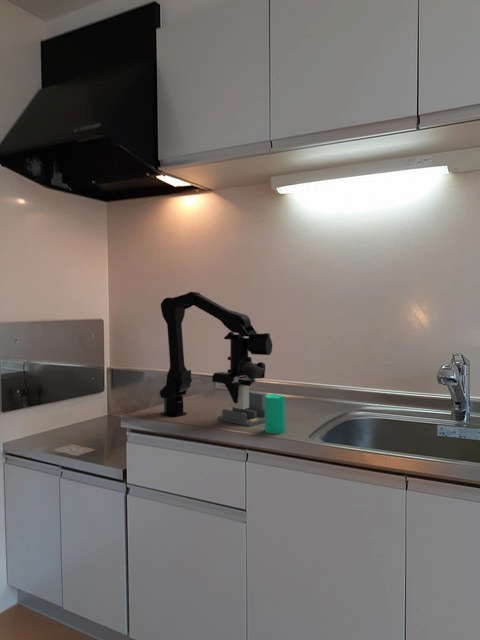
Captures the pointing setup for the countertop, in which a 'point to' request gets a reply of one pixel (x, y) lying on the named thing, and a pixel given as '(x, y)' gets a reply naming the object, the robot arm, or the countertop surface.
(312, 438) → the countertop surface
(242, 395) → the block
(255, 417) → the rack
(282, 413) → the candle
